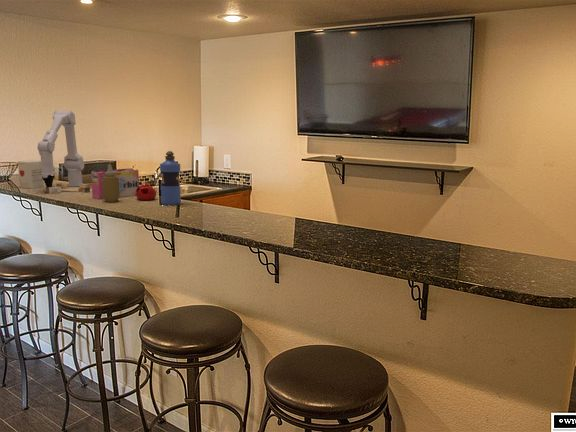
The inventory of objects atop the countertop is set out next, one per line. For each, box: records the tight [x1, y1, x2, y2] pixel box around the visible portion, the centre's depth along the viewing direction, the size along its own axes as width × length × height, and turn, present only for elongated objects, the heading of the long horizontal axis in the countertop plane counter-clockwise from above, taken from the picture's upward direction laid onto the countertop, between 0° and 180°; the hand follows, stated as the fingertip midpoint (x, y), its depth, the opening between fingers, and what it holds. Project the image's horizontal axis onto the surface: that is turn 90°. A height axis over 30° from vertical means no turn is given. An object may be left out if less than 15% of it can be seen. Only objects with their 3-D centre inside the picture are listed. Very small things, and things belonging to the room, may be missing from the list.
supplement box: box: [17, 159, 45, 190], centre depth 275 cm, size 9×9×15 cm
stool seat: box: [56, 182, 92, 194], centre depth 269 cm, size 20×20×3 cm
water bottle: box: [159, 150, 182, 206], centre depth 232 cm, size 9×9×25 cm
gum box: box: [90, 167, 140, 200], centre depth 252 cm, size 24×8×14 cm, turn 139°
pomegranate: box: [135, 181, 157, 201], centre depth 244 cm, size 10×10×9 cm
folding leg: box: [45, 186, 62, 194], centre depth 260 cm, size 8×3×3 cm, turn 133°
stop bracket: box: [51, 188, 61, 195], centre depth 257 cm, size 2×4×3 cm, turn 59°
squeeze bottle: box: [102, 163, 120, 203], centre depth 235 cm, size 8×8×18 cm
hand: (49, 189), depth 261 cm, fingers closed, pressing on folding leg
